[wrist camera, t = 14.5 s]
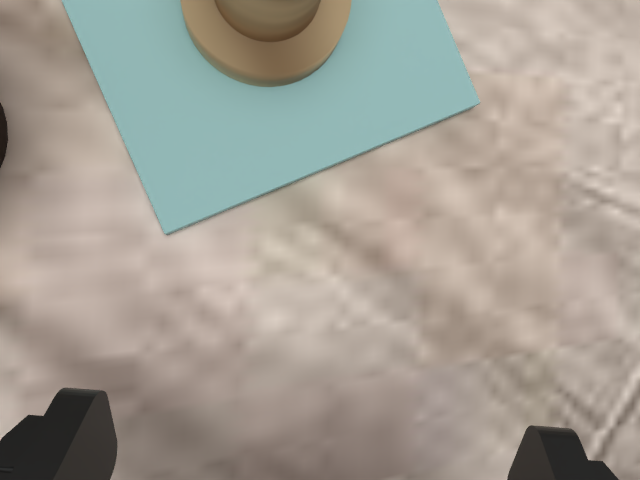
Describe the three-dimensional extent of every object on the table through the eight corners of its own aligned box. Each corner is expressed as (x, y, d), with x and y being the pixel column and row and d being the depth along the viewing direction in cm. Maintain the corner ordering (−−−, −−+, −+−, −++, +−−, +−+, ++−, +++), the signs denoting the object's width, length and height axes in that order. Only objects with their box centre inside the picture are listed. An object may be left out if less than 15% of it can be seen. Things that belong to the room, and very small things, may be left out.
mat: (344, -195, 24) (348, -210, 23) (472, 108, 24) (480, 102, 23) (20, -97, 21) (12, -111, 21) (167, 234, 22) (164, 234, 21)
